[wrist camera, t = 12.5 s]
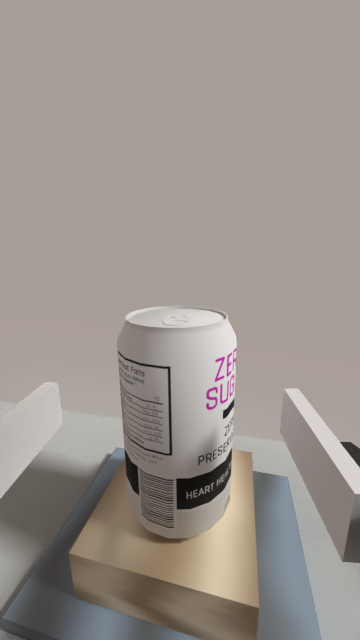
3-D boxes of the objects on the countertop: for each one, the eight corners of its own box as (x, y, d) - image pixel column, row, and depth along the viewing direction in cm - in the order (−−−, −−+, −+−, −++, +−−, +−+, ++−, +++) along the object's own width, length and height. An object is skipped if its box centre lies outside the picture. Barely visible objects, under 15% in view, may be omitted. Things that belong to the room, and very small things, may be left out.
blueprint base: (286, 486, 28) (291, 444, 26) (340, 761, 12) (356, 693, 11) (116, 455, 32) (114, 419, 31) (5, 630, 17) (-9, 571, 16)
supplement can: (136, 456, 25) (128, 305, 22) (221, 455, 25) (225, 304, 22) (117, 547, 17) (99, 331, 14) (241, 545, 17) (253, 329, 14)
